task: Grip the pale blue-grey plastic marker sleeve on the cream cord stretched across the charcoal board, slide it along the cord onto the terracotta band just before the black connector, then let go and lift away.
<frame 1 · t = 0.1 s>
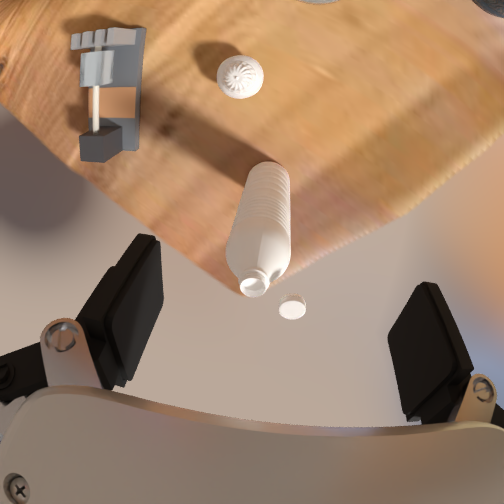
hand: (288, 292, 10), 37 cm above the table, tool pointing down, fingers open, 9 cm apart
white rounded ridged piece: (243, 75, 38), on the table
water bottle: (274, 183, 47), on the table
marker sleeve: (96, 68, 32), point 6 cm above the table, slide at 0.0 cm
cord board: (116, 89, 39), on the table
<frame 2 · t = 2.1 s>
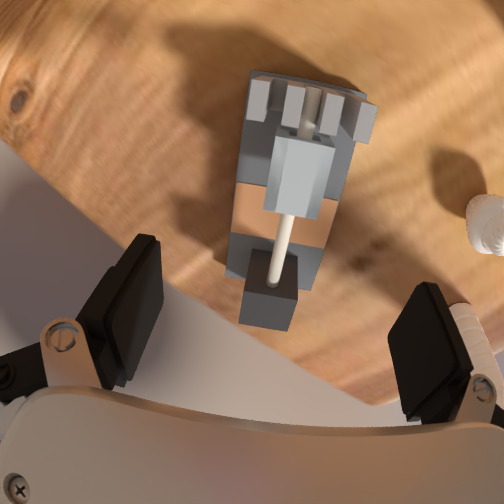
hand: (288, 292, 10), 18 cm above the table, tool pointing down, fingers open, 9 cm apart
white rounded ridged piece: (476, 207, 25), on the table
water bottle: (456, 320, 34), on the table
marker sleeve: (297, 170, 20), point 6 cm above the table, slide at 0.0 cm
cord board: (287, 188, 27), on the table
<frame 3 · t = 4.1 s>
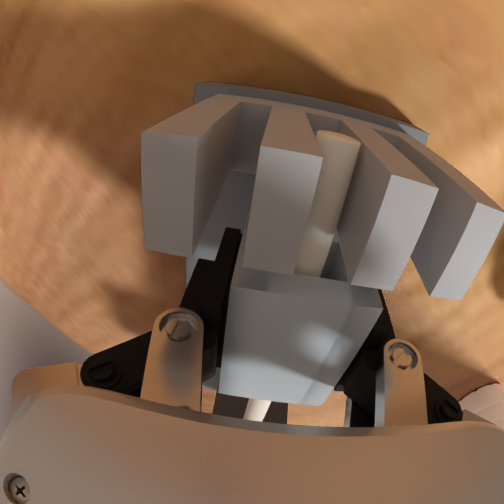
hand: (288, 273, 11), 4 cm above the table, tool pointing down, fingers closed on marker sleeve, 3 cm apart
water bottle: (479, 398, 24), on the table
marker sleeve: (288, 318, 9), point 6 cm above the table, slide at 0.0 cm, touching gripper
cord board: (274, 286, 17), on the table
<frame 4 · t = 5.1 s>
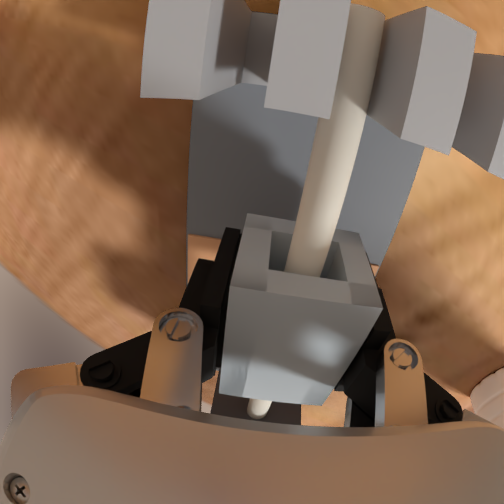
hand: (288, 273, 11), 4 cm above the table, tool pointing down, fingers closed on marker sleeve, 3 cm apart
water bottle: (496, 382, 22), on the table
marker sleeve: (288, 318, 9), point 6 cm above the table, slide at 3.0 cm, touching gripper
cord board: (285, 240, 15), on the table
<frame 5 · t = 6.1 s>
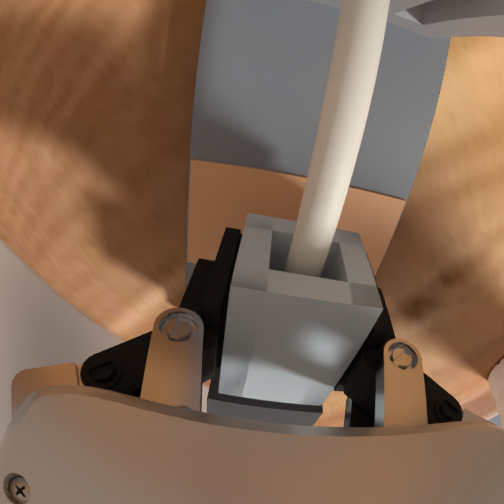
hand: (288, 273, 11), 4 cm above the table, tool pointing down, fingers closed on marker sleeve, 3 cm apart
marker sleeve: (288, 318, 9), point 6 cm above the table, slide at 6.5 cm, touching gripper
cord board: (299, 175, 13), on the table
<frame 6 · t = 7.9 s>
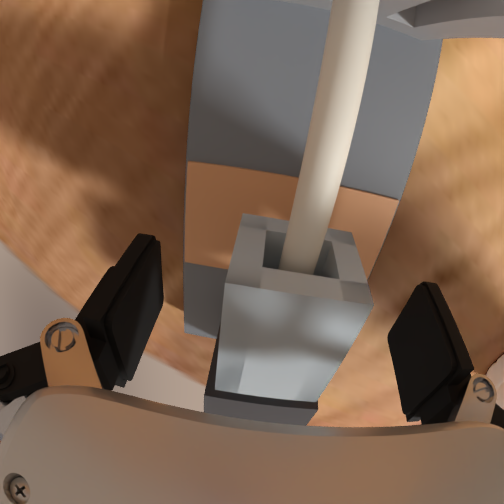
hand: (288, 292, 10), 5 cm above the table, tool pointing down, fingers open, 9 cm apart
marker sleeve: (282, 315, 10), point 6 cm above the table, slide at 6.5 cm
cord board: (294, 175, 13), on the table
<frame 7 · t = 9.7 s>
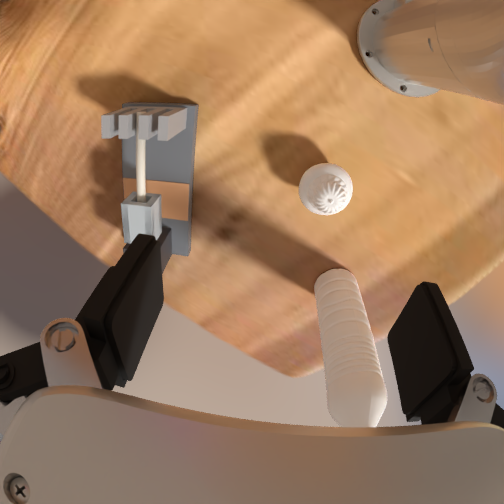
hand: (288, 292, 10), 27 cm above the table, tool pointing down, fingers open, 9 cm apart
white rounded ridged piece: (321, 178, 36), on the table
water bottle: (340, 287, 45), on the table
marker sleeve: (142, 218, 33), point 6 cm above the table, slide at 6.5 cm
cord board: (159, 180, 37), on the table
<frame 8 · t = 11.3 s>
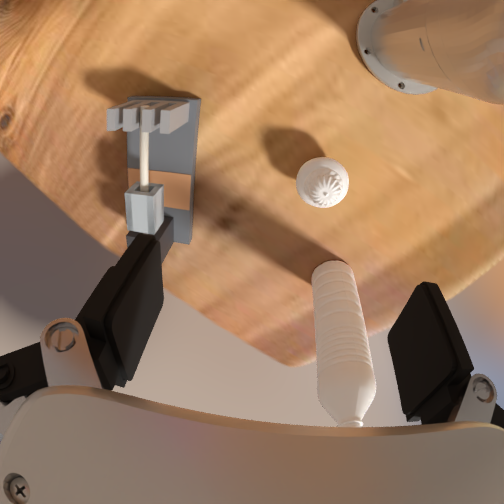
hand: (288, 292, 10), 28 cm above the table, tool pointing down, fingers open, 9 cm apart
white rounded ridged piece: (319, 171, 37), on the table
water bottle: (337, 279, 46), on the table
marker sleeve: (145, 207, 35), point 6 cm above the table, slide at 6.5 cm
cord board: (162, 170, 38), on the table
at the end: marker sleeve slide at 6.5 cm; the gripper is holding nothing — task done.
